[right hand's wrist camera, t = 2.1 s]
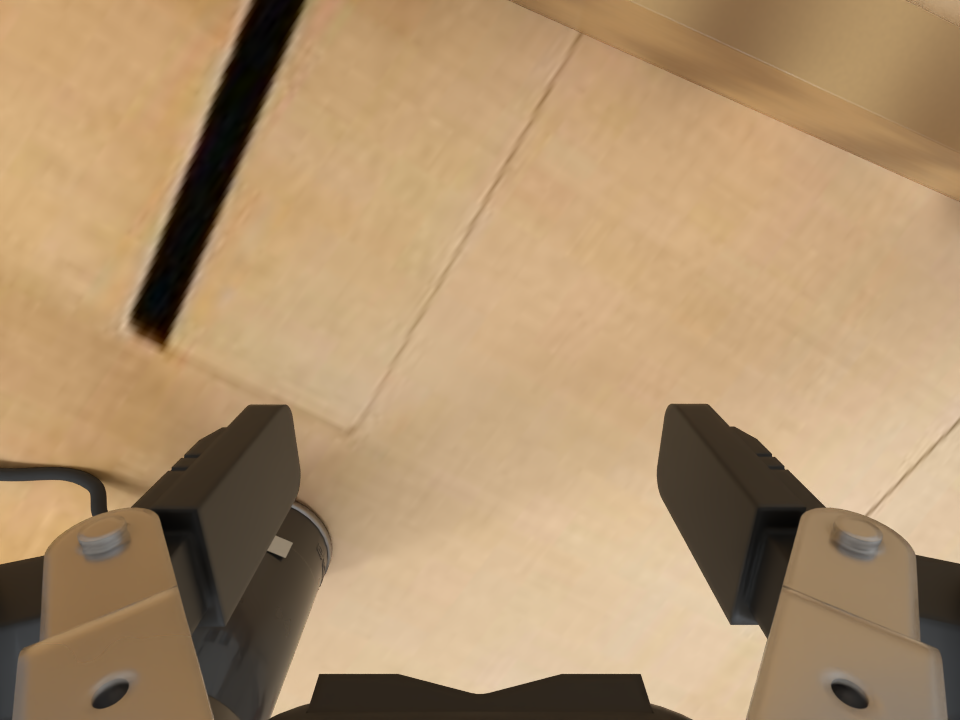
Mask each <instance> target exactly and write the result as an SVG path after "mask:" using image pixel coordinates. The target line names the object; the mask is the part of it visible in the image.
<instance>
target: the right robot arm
mask: <svg viewBox="0 0 960 720" xmlns="http://www.w3.org/2000/svg"><path fill="white" fill-rule="evenodd" d="M34 480H64V481H69V482H73V483H76V484H78V485H80V486H82V487H84V488H85V489H87V490H88V491H89V492H90V495H91V513H92V516H93V517H91V518H89V519H86V520H84V521H82V522H80V523H78V524H76V525H74V526H73V527H71V528H70V529H68V530H66V531H65V532H64V533H62V534H61V535H60V536H58V537H57V538H56V539H55V540H54V541H53V542H52V543H51V545H50V546H49V547H48V549H47V551H46V552H45V556H40V557H35V558H30V559H25V560H20V561H15V562H10V563H6V564H1V565H0V720H692V719H690V718H688V717H686V716H684V715H682V714H680V713H677V712H674V711H672V710H669V709H666V708H664V707H661V706H657V705H654V704H650V702H649V699H648V696H647V693H646V689H645V686H644V683H643V680H642V677H641V674H560V675H556V676H552V677H549V678H545V679H541V680H537V681H533V682H529V683H526V684H522V685H518V686H514V687H510V688H506V689H503V690H499V691H495V692H491V693H486V694H474V693H469V692H465V691H461V690H457V689H454V688H450V687H446V686H442V685H438V684H434V683H431V682H427V681H423V680H419V679H415V678H411V677H408V676H404V675H400V674H319V677H318V680H317V683H316V686H315V689H314V693H313V696H312V699H311V702H310V704H306V705H303V706H299V707H296V708H294V709H291V710H288V711H286V712H283V713H280V714H278V715H276V716H274V717H272V718H271V715H272V712H273V710H274V707H275V704H276V702H277V699H278V696H279V694H280V691H281V688H282V686H283V683H284V680H285V678H286V675H287V672H288V670H289V667H290V664H291V662H292V659H293V656H294V654H295V651H296V648H297V646H298V643H299V640H300V637H301V635H302V632H303V629H304V627H305V624H306V621H307V619H308V616H309V613H310V611H311V608H312V605H313V603H314V600H315V597H316V595H317V592H318V590H319V587H320V586H321V583H322V580H323V577H324V575H325V574H326V571H327V569H328V566H329V564H330V560H331V556H332V545H331V540H330V536H329V534H328V532H327V530H326V528H325V526H324V525H323V523H322V522H321V521H320V519H319V518H318V517H317V516H316V515H315V514H314V513H313V512H312V511H311V510H309V509H308V508H307V507H305V506H303V505H302V504H300V503H298V502H296V501H295V499H296V497H297V494H298V491H299V486H300V464H299V457H298V451H297V444H296V437H295V430H294V423H293V417H292V413H291V410H290V408H289V407H288V406H287V405H249V406H247V407H246V408H245V409H244V410H243V411H242V412H241V413H240V414H239V415H238V416H237V417H236V418H235V420H234V421H233V422H232V423H231V424H230V425H229V426H228V427H222V428H221V429H219V430H217V431H215V432H213V433H212V434H210V435H208V436H206V437H204V438H203V439H201V440H199V441H198V442H197V443H196V444H195V445H194V446H193V447H192V448H191V449H190V450H189V451H188V452H187V453H186V454H185V455H184V458H181V459H180V460H179V461H178V462H177V463H176V464H175V465H174V466H173V467H172V470H171V471H168V472H167V473H166V474H165V475H164V476H163V477H162V478H160V479H159V480H158V481H157V482H156V483H155V484H154V485H153V486H152V487H151V488H150V489H149V490H148V491H147V492H146V493H145V494H144V495H143V496H142V497H141V498H140V499H139V500H138V501H137V502H136V503H135V504H134V505H133V506H132V507H131V508H124V509H117V510H113V511H109V512H108V511H107V498H106V491H105V487H104V485H103V483H102V482H101V481H100V480H99V479H97V478H96V477H94V476H92V475H91V474H88V473H86V472H83V471H80V470H75V469H70V468H62V467H41V468H0V481H34ZM657 483H658V489H659V493H660V495H661V498H662V500H663V502H664V503H665V505H666V507H667V509H668V511H669V513H670V514H671V516H672V518H673V520H674V522H675V524H676V525H677V527H678V529H679V531H680V533H681V535H682V536H683V538H684V540H685V542H686V544H687V546H688V547H689V549H690V551H691V553H692V555H693V557H694V558H695V560H696V562H697V564H698V566H699V568H700V570H701V571H702V573H703V575H704V577H705V579H706V581H707V582H708V584H709V586H710V588H711V590H712V592H713V593H714V595H715V597H716V599H717V601H718V603H719V604H720V606H721V608H722V610H723V612H724V614H725V615H726V617H727V619H728V621H729V623H730V625H759V626H760V628H761V629H762V631H763V632H764V634H765V636H766V637H767V643H766V646H765V650H764V654H763V657H762V661H761V665H760V669H759V672H758V676H757V680H756V683H755V687H754V691H753V695H752V698H751V702H750V706H749V709H748V713H747V717H746V720H960V564H958V563H953V562H948V561H943V560H939V559H934V558H929V557H924V556H919V555H915V552H914V551H913V549H912V547H911V546H910V545H909V543H908V542H907V541H906V540H905V539H904V538H903V537H902V536H900V535H899V534H898V533H896V532H895V531H894V530H892V529H890V528H889V527H887V526H886V525H884V524H882V523H880V522H878V521H876V520H874V519H871V518H869V517H867V516H864V515H861V514H858V513H855V512H851V511H847V510H843V509H836V508H826V507H825V506H824V505H823V504H822V503H821V502H820V501H819V500H818V499H817V498H816V497H815V496H814V495H813V494H812V493H811V492H810V491H809V490H808V489H807V488H806V487H805V486H804V485H803V484H802V483H801V482H800V481H799V480H798V479H797V478H796V477H795V476H794V475H793V474H792V473H791V472H790V471H789V470H785V469H784V465H783V464H782V463H781V462H779V461H778V460H777V459H776V458H775V457H772V454H771V453H770V452H769V451H768V450H767V449H766V448H765V447H764V446H763V445H762V444H761V443H760V442H759V441H758V440H757V439H756V438H754V437H752V436H750V435H749V434H747V433H745V432H743V431H741V430H740V429H738V428H736V427H730V426H729V425H728V424H727V423H726V422H725V421H724V420H723V419H722V418H721V417H720V416H719V415H718V414H717V413H716V412H715V411H714V410H713V409H712V408H711V406H709V405H708V404H670V405H669V406H668V407H667V409H666V412H665V417H664V424H663V431H662V438H661V444H660V451H659V458H658V465H657Z"/></svg>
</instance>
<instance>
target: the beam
mask: <svg viewBox="0 0 960 720" xmlns="http://www.w3.org/2000/svg"><path fill="white" fill-rule="evenodd" d="M509 1H512V2H514V3H516V4H518V5H521V6H523V7H525V8H527V9H530V10H532V11H534V12H536V13H539V14H541V15H543V16H545V17H547V18H550V19H552V20H554V21H556V22H559V23H561V24H563V25H565V26H568V27H570V28H572V29H574V30H577V31H579V32H581V33H583V34H586V35H588V36H590V37H592V38H595V39H597V40H599V41H601V42H603V43H606V44H608V45H610V46H612V47H615V48H617V49H619V50H621V51H624V52H626V53H628V54H630V55H633V56H635V57H637V58H639V59H642V60H644V61H646V62H648V63H651V64H653V65H655V66H657V67H659V68H662V69H664V70H666V71H668V72H671V73H673V74H675V75H677V76H680V77H682V78H684V79H686V80H689V81H691V82H693V83H695V84H698V85H700V86H702V87H704V88H707V89H709V90H711V91H713V92H715V93H718V94H720V95H722V96H724V97H727V98H729V99H731V100H733V101H736V102H738V103H740V104H742V105H745V106H747V107H749V108H751V109H754V110H756V111H758V112H760V113H763V114H765V115H767V116H769V117H771V118H774V119H776V120H778V121H780V122H783V123H785V124H787V125H789V126H792V127H794V128H796V129H798V130H801V131H803V132H805V133H807V134H810V135H812V136H814V137H816V138H819V139H821V140H823V141H825V142H827V143H830V144H832V145H834V146H836V147H839V148H841V149H843V150H845V151H848V152H850V153H852V154H854V155H857V156H859V157H861V158H863V159H866V160H868V161H870V162H872V163H875V164H877V165H879V166H881V167H883V168H886V169H888V170H890V171H892V172H895V173H897V174H899V175H901V176H904V177H906V178H908V179H910V180H913V181H915V182H917V183H919V184H922V185H924V186H926V187H928V188H931V189H933V190H935V191H937V192H939V193H942V194H944V195H946V196H948V197H951V198H953V199H955V200H957V201H960V27H959V26H957V25H955V24H953V23H951V22H949V21H947V20H945V19H943V18H941V17H939V16H937V15H935V14H933V13H931V12H929V11H927V10H925V9H923V8H921V7H919V6H917V5H915V4H913V3H911V2H909V1H907V0H509Z"/></svg>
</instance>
